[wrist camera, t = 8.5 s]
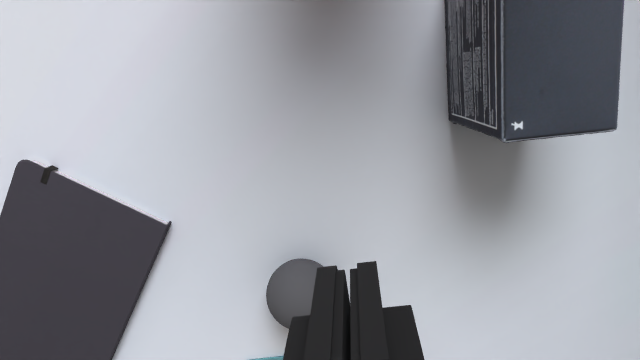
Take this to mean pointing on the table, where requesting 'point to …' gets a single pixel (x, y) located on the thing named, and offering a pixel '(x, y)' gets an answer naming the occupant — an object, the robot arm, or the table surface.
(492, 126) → the small box
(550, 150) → the table surface
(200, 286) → the table surface
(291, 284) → the dark gray ball
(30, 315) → the notebook
